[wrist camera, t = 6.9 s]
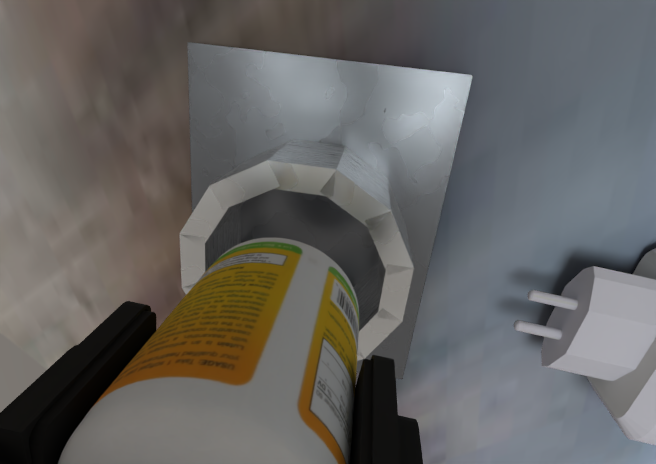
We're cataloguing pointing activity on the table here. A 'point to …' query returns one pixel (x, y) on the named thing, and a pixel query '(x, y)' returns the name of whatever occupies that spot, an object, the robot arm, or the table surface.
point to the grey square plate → (324, 171)
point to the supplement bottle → (238, 370)
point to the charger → (607, 340)
